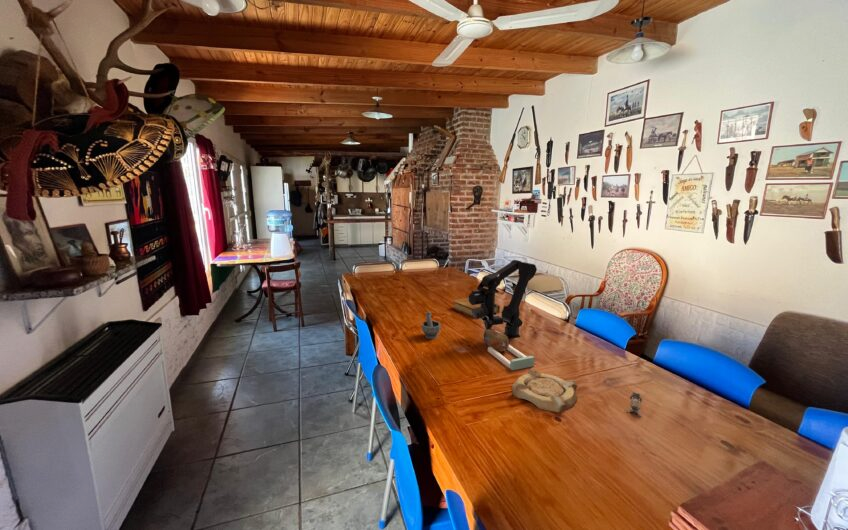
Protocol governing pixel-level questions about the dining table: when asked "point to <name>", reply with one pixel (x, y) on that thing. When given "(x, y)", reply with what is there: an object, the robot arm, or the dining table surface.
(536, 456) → the dining table surface
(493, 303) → the robot arm
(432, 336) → the mortar and pestle
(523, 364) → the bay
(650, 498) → the dining table surface
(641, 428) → the dining table surface
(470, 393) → the dining table surface
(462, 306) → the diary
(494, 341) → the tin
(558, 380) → the ashtray
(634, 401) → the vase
